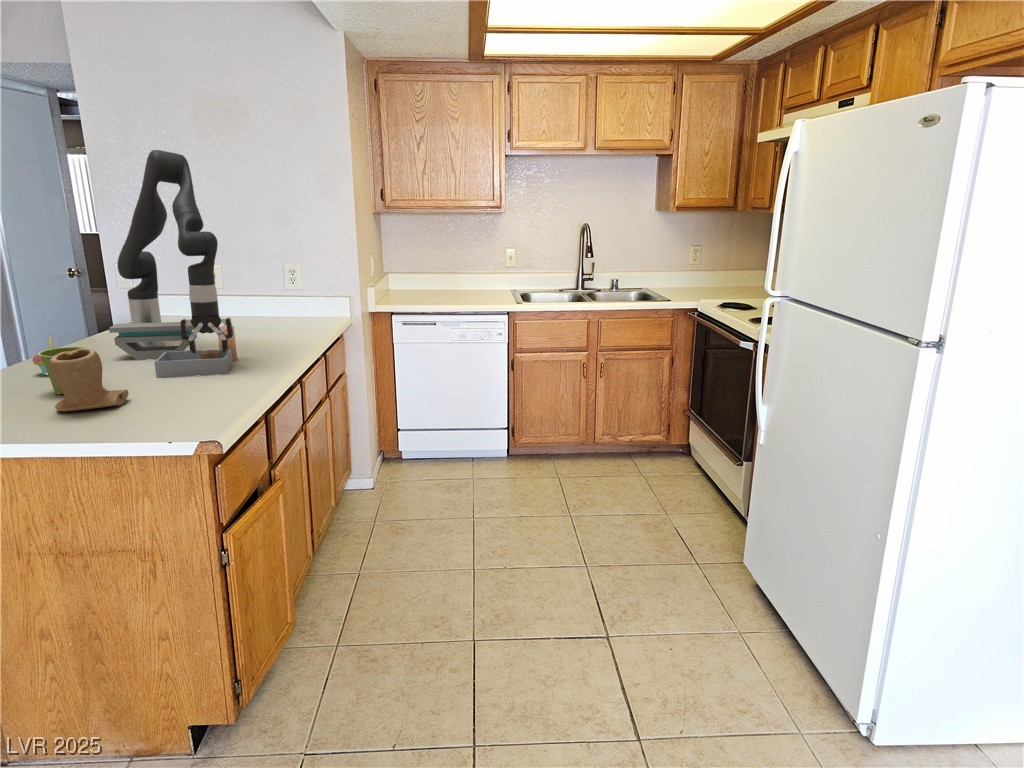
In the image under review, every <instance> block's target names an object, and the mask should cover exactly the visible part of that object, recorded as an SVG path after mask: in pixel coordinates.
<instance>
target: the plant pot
mask: <svg viewBox="0 0 1024 768" xmlns="http://www.w3.org/2000/svg"><path fill="white" fill-rule="evenodd" d="M80 348H89V349H91V348H90V347H85V346H64V347H55V348H54V347H53V349H50V348H49V349H45V350H41V351H38V352H37V354H38V356H40V357H41V359H42V361H43V364H45V367H46V370H47V372H48V375H49V376H48V377H49V380H50V382H51V385H52V389H53V391H54V393H55V394H57V393H59V394H63V392H62V390H61V389H60V387H59V386H58V384H57V383H56V381H55V380H54V378H53V375H52V373H51V370H50V366H49V361H50V359H51V358H52V357H53V356H55V355H57V354H59V353H61V352H66V351H68V352H71V351H74V350H76V349H80ZM59 394H58V395H59Z"/></svg>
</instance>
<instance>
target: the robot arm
mask: <svg viewBox="0 0 1024 768" xmlns="http://www.w3.org/2000/svg"><path fill="white" fill-rule="evenodd" d="M161 182H162V183H168V184H174V185H175V184H176V185H178V187H179V191H178V193H177V194H176V196H175V198H174V200H173V201H172V206H171V207H172V213H173V218H174V220H175V222H176V224H177V228H178V229H177V230H178V238H177V247H178V250H179V252H180V253H181V254H182V255H183V256H187V257H203V259H202V261H200V262H198V263H197V262H196V263H194V264H190V265H188V267H187V276H188V284H189V287H188V288H189V289H188V290H189V291H188V292H189V297H188V299H189V302H190V310H191V311H190V312H191V319H186V318H183V319H181V320H180V322H181V338H182V339H183V340H184V339H185V340H188V341H189V346H188V347H189V351H191V352H192V353H196V350H197V347H196V345H197V344H196V339H195V340H194V338H195V336H196V335H197V336H198V334H199V333H200V334H213V333H215V334H216V335H217V336H218V335H219V336H220V337H221V338H222V349H223V352H226V350H227V349H228V341H227V339H229V338H232V336H233V329H232V326H233V323H232V318H231V317H230V316H229V317H227V318H221V317H220V311H219V310H220V309H219V303H218V300H219V299H218V292H217V288H216V280H215V272H214V271H215V262H216V258H217V257H216V256H217V252H218V246H219V245H218V243H219V242H218V239H217V237H216V235H215V234H214V233H213V232H211V231H202V230H203V228H204V221H203V218H202V216H201V213H200V209H199V208H198V206H197V201H196V198H195V191H194V186H193V180H192V173H191V169H190V165H189V162H188V160H187V158H186V157H185V156H184V155H183V154H179V153H177V152H176V153H175V152H170V151H165V150H160V149H153V150H151V151H150V152H149V153H148V156H147V158H146V163H145V167H144V173H143V178H142V183H141V188H140V192H139V196H138V199H137V201H136V202H137V203H136V206H135V208H134V211H133V214H132V215H133V216H132V218H131V219H132V220H131V222H130V227H129V230H128V234H127V236H126V239H125V240H124V244H123V246H122V248H121V250H120V252H119V256H118V259H117V270H118V274H119V276H121V277H122V278H123V279H126V280H139V279H141V280H140V283H139V284H137V285H136V286H135V287H133V288H130V289H129V290H128V291H127V300H128V306H129V313H130V321H129V324H130V323H162V319H161V318H162V317H161V311H160V308H161V307H160V302H159V294H158V292H159V282H158V269H157V261H156V259H155V256H154V255H153V254H152V253H151V252H150V251H147V250H146V251H144V249H145V248H147V247H148V246H149V245H150V244H152V243H153V242H154V241H156V239H158V237H159V236H161V234H162V233H163V232H164V227H165V225H166V222H167V218H168V212H167V208H166V207H165V205H164V202H163V201H162V198H161V197H160V195H159V191H158V184H159V183H161ZM190 323H191V324H192V325H193V326H194V327H195V330H192V331H193V333H192V334H191V335H190V336H189V335H187V327H188V326H189V324H190ZM221 324H223V326H227V332H228V334H225V333H224V332H223V331H222V330H221V328H220V327H221V326H220V325H221ZM137 343H138V344H139V345H141V346H142V347H153V346H165V341H160V342H137Z"/></svg>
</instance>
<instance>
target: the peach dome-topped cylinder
mask: <svg viewBox="0 0 1024 768" xmlns="http://www.w3.org/2000/svg"><path fill="white" fill-rule="evenodd" d="M219 327H220V328H221V330H222V331H223V332H224V333H225V334H228V332H227V326H225V325H223V326H219ZM232 329H233V336H232V338H229V339H227V341H228V349H231V351H232V361H234V362H237V361H238V351H237V350H238V349H237V343H236V342H237V341H236V333H235V326H233V325H232ZM217 338H218V347H219V349H222V338H221V337H220V336H219V335H217ZM236 360H237V361H236Z"/></svg>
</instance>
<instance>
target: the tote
mask: <svg viewBox="0 0 1024 768" xmlns="http://www.w3.org/2000/svg"><path fill="white" fill-rule="evenodd" d="M204 350H205V349H203V350H202V349H200V350H197V349H196V353H192V352H191V351H190V350H184V351H171V352H164V353H163V354H162V355H161V356H160V357H159V358H158V359H155V361H154V370H155V375H156V376H155V377H156V378H157V379H158V378H161V379H162V378H178V376H181V377H197V376H196V375H200V376H215V375H216V374H219V375H228V373H229V371H230V369H231V368H232V366H233V361H232V351H231V349H227V350H226V352H223V349H220V348H219V349H216V350H220V354H221V358H218V359H201V358H200V353H201V352H202V351H204ZM216 376H217V375H216Z"/></svg>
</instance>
